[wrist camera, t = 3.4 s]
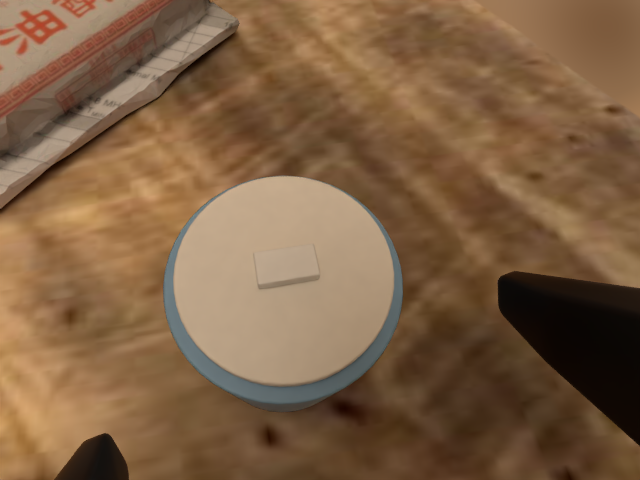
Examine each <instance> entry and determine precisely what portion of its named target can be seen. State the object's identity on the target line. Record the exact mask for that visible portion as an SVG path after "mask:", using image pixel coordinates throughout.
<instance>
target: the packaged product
mask: <svg viewBox="0 0 640 480" xmlns="http://www.w3.org/2000/svg"><path fill="white" fill-rule="evenodd" d="M239 24H240V23H239V21H238V19H237V18H235V17H233V16H232V15H230V14H229V13H227V12H226V11H224V10H223V9H222V8H220V7H219V6H217V5H216V4H214V3H210V2H209V0H0V209H1V208H2V207H3V206H4V205H5V204H7V203H8V202H9V201H10V200H11V199H13V198H14V197H15V196H16V195H17V194H18V193H20V192H21V191H22V190H23V189H24V188H25V187H27V186H28V185H29V184H30V183H31V182H33V181H34V180H35V179H36V178H37V177H38V176H40V175H41V174H42V173H43V172H44V171H46V170H47V169H48V168H49V167H50V166H51V165H53V164H54V163H56V162H58V161H59V160H61V159H63V158H64V157H66V156H68V155H69V154H71V153H72V152H74V151H75V150H77V149H78V148H80V147H81V146H82V145H84V144H85V143H87V142H88V141H90V140H91V139H92V138H94V137H95V136H97V135H98V134H100V133H101V132H103V131H104V130H105V129H107V128H108V127H110V126H111V125H113V124H114V123H116V122H117V121H118V120H120V119H121V118H123V117H124V116H126V115H127V114H129V113H130V112H132V111H134V110H136V109H138V108H139V107H141V106H143V105H145V104H147V103H148V102H150V101H152V100H154V99H156V98H157V97H159V96H160V95H161V94H162V92H163V91H164V90H165V89H166V88H167V87H168V86H169V84H170V83H171V82H172V81H173V80H174V79H175V78H176V76H177V75H178V74H179V73H180V72H181V71H183V70H184V69H185V68H186V67H188V66H189V65H190V64H191V63H193V62H194V61H195V60H196V59H198V58H199V57H200V56H201V55H203V54H204V53H206V52H207V51H208V50H210V49H211V48H213V47H214V46H216V45H217V44H218V43H220V42H221V41H223V40H224V39H226V38H227V37H228V36H230V35H231V34H233V33H234V32H236V30H237V28H238V26H239Z"/></svg>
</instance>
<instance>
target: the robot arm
mask: <svg viewBox="0 0 640 480" xmlns="http://www.w3.org/2000/svg"><path fill="white" fill-rule="evenodd" d="M498 305H499V309H500V311H501V313H502V315H503V316H504V317H505V318H506V319H507V320H508V321H509V322H510V324H511V325H512V326H513V327H514V328H515V329H516V330H517V331H518V332H519V333H520V334H521V335H522V337H523V338H524V339H525V340H526V341H527V342H528V343H529V344H530V345H531V346H532V347H533V348H534V349H535V351H536V352H537V353H538V354H539V355H540V356H541V357H542V358H543V359H544V360H545V361H546V362H547V363H548V364H549V365H550V366H551V367H552V368H553V369H554V370H556V371H557V372H558V373H559V374H560V375H561V376H562V377H563V378H564V379H566V380H567V381H568V382H569V383H570V384H571V385H572V386H573V387H575V388H576V389H577V390H578V391H579V392H580V393H581V394H582V395H583V396H585V397H586V398H587V399H588V400H589V401H590V402H591V403H592V404H594V405H595V406H596V407H597V408H598V409H599V410H600V411H601V412H602V413H604V414H605V415H606V416H607V417H608V418H609V419H610V420H611V421H613V422H614V423H615V424H616V425H617V426H618V427H619V428H620V429H621V430H623V431H624V432H625V433H626V434H627V435H628V436H629V437H630V438H632V439H633V440H634V441H635V442H636V443H637V444H638V445H639V446H640V288H634V287H626V286H619V285H612V284H605V283H597V282H590V281H583V280H576V279H569V278H561V277H554V276H547V275H540V274H532V273H525V272H518V271H514V272H510V273H508V274H505V275H503V276H501V277H500V278H499V280H498ZM54 480H129V474H128V467H127V464H126V461H125V459H124V458H123V456H122V454H121V452H120V451H119V449H118V447H117V445H116V444H115V442H114V440H113V439H112V437H111V436H110V435H109V434H106V433H104V434H101V435H98V436H96V437H93V438H91V439H88V440H86V441H85V442H83V443H82V445H81V446H80V447H79V448H78V450H77V451H76V452H75V453H74V455H73V456H72V457H71V459H70V460H69V461H68V463H67V464H66V465H65V466H64V468H63V469H62V470H61V472H60V473H59V474H58V475H57V477H56V478H55V479H54Z"/></svg>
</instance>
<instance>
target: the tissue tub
mask: <svg viewBox="0 0 640 480" xmlns="http://www.w3.org/2000/svg"><path fill="white" fill-rule="evenodd" d="M163 295H164V307H165V312H166V318H167V321H168V324H169V327H170V330H171V333H172V335H173V337H174V339H175V341H176V343H177V345H178V347H179V349H180V350H181V351H182V353H183V354H184V356H185V357H186V359H187V360H188V361H189V362H190V363H191V364H192V366H193V367H194V368H195V369H196V370H197V371H198V372H199V373H200V374H201V375H203V376H204V377H205V378H206V379H208V380H209V381H210V382H212V383H213V384H214V385H216V386H218V387H220V388H221V389H223V390H225V391H227V392H228V393H230V394H232V395H234V396H236V397H237V398H239V399H241V400H243V401H245V402H247V403H248V404H250V405H252V406H255V407H257V408H260V409H263V410H267V411H273V412H292V411H297V410H302V409H304V408H307V407H310V406H312V405H314V404H316V403H318V402H320V401H322V400H324V399H326V398H327V397H329V396H331V395H333V394H335V393H336V392H338V391H340V390H342V389H344V388H346V387H347V386H348V385H350V384H351V383H353V382H354V381H356V380H357V379H359V378H360V377H361V376H362V375H363V374H364V373H365V372H367V371H368V370H369V369H370V368H371V367H372V366H373V365H374V363H375V362H376V361H377V360H378V359H379V357H380V356H381V355H382V354H383V352H384V350H385V349H386V347H387V345H388V344H389V342H390V340H391V338H392V336H393V334H394V331H395V329H396V327H397V323H398V320H399V316H400V313H401V306H402V299H403V280H402V272H401V266H400V263H399V259H398V255H397V252H396V250H395V248H394V245H393V243H392V241H391V239H390V237H389V235H388V234H387V232H386V230H385V228H384V227H383V226H382V224H381V223H380V222H379V220H378V219H377V218H376V217H375V216H374V215H373V214H372V212H371V211H370V210H369V209H368V208H367V207H366V206H364V205H363V204H362V203H361V202H359V201H358V200H357V199H356V198H354V197H353V196H351V195H349V194H348V193H346V192H345V191H343V190H341V189H339V188H337V187H335V186H332V185H330V184H327V183H324V182H321V181H318V180H314V179H310V178H305V177H296V176H272V177H263V178H259V179H254V180H250V181H247V182H244V183H241V184H238V185H236V186H234V187H231V188H229V189H227V190H225V191H223V192H222V193H220V194H219V195H217V196H215V197H214V198H212V199H211V200H210V201H208V202H207V203H206V204H205V205H203V206H202V207H201V208H200V209H199V210H198V211H197V212H196V213H195V214H194V215H193V216H192V217H191V218H190V220H189V221H188V222H187V224H186V225H185V226H184V228H183V229H182V230H181V232H180V234H179V236H178V237H177V239H176V241H175V243H174V245H173V248H172V250H171V252H170V255H169V258H168V262H167V266H166V269H165V276H164V285H163Z"/></svg>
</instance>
